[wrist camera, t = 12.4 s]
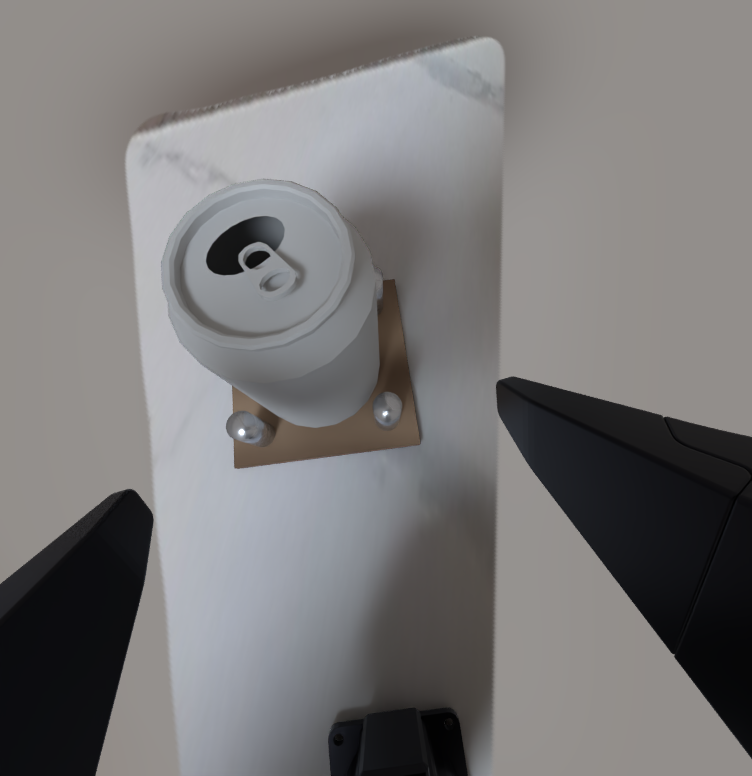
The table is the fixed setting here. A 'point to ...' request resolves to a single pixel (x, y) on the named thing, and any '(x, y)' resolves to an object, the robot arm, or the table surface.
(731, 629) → the robot arm
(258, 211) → the can
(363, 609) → the table surface
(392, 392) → the standoff plate
